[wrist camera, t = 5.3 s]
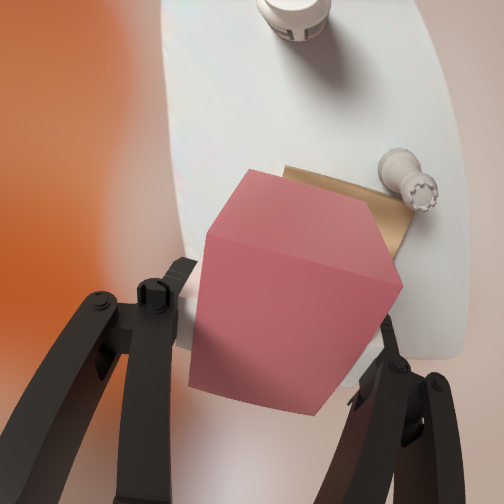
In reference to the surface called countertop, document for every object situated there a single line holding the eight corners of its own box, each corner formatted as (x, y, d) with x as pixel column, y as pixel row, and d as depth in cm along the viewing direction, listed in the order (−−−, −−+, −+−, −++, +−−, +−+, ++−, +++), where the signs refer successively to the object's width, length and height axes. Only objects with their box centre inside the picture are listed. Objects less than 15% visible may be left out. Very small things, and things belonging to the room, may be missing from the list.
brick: (249, 169, 14) (206, 233, 8) (366, 202, 14) (403, 286, 8) (223, 294, 19) (188, 386, 13) (316, 318, 18) (314, 416, 12)
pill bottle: (319, -10, 19) (323, -50, 11) (331, 38, 22) (344, 17, 13) (261, -2, 20) (240, -38, 12) (273, 46, 23) (257, 28, 15)
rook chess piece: (425, 167, 26) (457, 196, 20) (397, 197, 29) (421, 233, 22) (396, 137, 25) (425, 157, 19) (367, 169, 28) (386, 198, 21)
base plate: (285, 165, 29) (284, 168, 28) (412, 203, 28) (416, 207, 27) (258, 276, 37) (256, 282, 36) (366, 302, 36) (367, 309, 35)
